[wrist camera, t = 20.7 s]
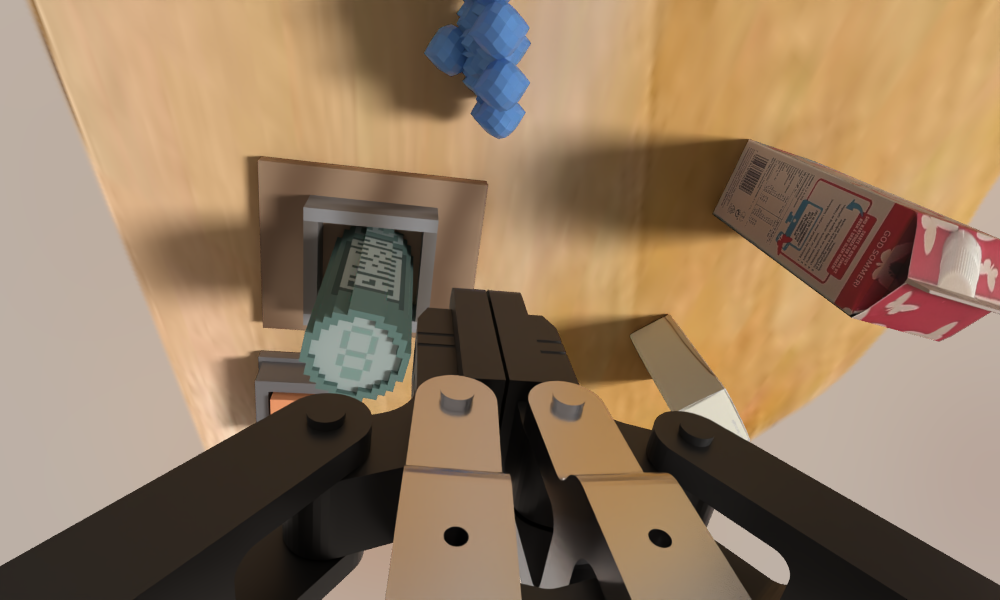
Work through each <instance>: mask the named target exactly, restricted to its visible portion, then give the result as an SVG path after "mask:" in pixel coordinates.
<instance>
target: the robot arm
mask: <svg viewBox="0 0 1000 600" xmlns="http://www.w3.org/2000/svg"><path fill="white" fill-rule="evenodd" d="M714 509H715V510H717V511H718V512H720V513H721V514H723V515H724V516H726V517H727V518H729V519H730V520H732V521H734V522H735V523H736V524H738V525H740V526H741V527H743V528H744V529H745V530H747V531H748V532H750V533H751V534H753V535H754V536H756V537H757V538H759V539H760V540H762V541H763V542H765V543H767V544H768V545H769V546H771V547H772V548H774V549H775V550H776V551H778V552H779V553H780V554H781V556H782V557H783V558H784V559H785V561H786V562H787V565H788V567H789V570H790V580H789V582H788V584H787V585H784V584H779V583H777V582H774V581H772V580H771V579H770V578H768V577H767V576H765V575H764V574H762V573H761V572H759V571H758V570H757V569H755V568H754V567H753V566H751V565H750V564H748V563H747V562H745V561H744V560H743V559H741V558H740V557H738V556H737V555H735V554H734V553H732V552H731V551H730V550H728V549H727V548H725V547H724V546H723V545H721V544H720V543H718V542H717V541H715V540H714V539H713V537H712V536H711V534H710V533H709V531H708V529H707V525H708V523H709V520H710V518H711V515H712V513H713V510H714ZM390 543H393V547H392V554H391V561H390V568H389V575H388V582H387V589H386V596H385V600H1000V585H998V584H997V583H995V582H993V581H991V580H990V579H988V578H986V577H984V576H983V575H981V574H979V573H977V572H976V571H974V570H972V569H970V568H969V567H967V566H965V565H964V564H962V563H960V562H958V561H956V560H954V559H953V558H951V557H950V556H948V555H946V554H944V553H943V552H941V551H939V550H937V549H935V548H933V547H932V546H930V545H929V544H927V543H925V542H923V541H922V540H920V539H918V538H916V537H914V536H913V535H911V534H909V533H908V532H906V531H904V530H902V529H900V528H899V527H897V526H895V525H894V524H892V523H890V522H888V521H887V520H885V519H883V518H881V517H880V516H878V515H876V514H874V513H873V512H871V511H869V510H867V509H865V508H864V507H862V506H860V505H859V504H857V503H855V502H853V501H852V500H850V499H848V498H846V497H845V496H843V495H841V494H839V493H838V492H836V491H834V490H832V489H831V488H829V487H827V486H825V485H824V484H822V483H820V482H818V481H817V480H815V479H813V478H811V477H810V476H808V475H806V474H804V473H803V472H801V471H799V470H797V469H796V468H794V467H792V466H790V465H789V464H787V463H785V462H783V461H782V460H780V459H778V458H777V457H775V456H773V455H771V454H769V453H768V452H766V451H764V450H762V449H761V448H759V447H757V446H755V445H754V444H752V443H750V442H749V441H747V440H745V439H743V438H742V437H740V436H738V435H736V434H735V433H733V432H731V431H729V430H728V429H726V428H724V427H722V426H721V425H719V424H717V423H715V422H714V421H712V420H710V419H708V418H705V417H703V416H701V415H697V414H694V413H690V412H684V411H670V412H665V413H663V414H661V415H659V416H658V417H657V418H656V420H655V422H654V425H653V428H652V430H649V429H645V428H641V427H637V426H633V425H629V424H625V423H622V422H619V421H616V420H614V419H613V418H612V416H611V414H610V413H609V411H608V409H607V407H606V405H605V404H604V402H603V401H602V399H601V398H600V397H599V396H598V395H596V394H595V393H594V392H592V391H590V390H589V389H587V388H585V387H583V386H580V385H579V383H578V381H577V378H576V376H575V373H574V371H573V368H572V366H571V363H570V361H569V359H568V356H567V355H566V351H565V349H564V346H563V344H561V339H560V337H559V334H558V332H557V329H556V328H555V327H554V326H553V325H552V324H551V323H550V322H549V321H547V320H546V319H545V318H544V317H543V316H538V315H528V313H527V310H526V307H525V304H524V301H523V298H522V295H521V293H517V292H505V291H492V290H487V292H486V290H478V289H466V288H452V291H451V296H450V304H449V309H442V308H428V307H427V308H426V310H425V311H424V312H423V313H422V314H421V315H420V316H419V317H418V319H417V329H416V340H415V350H414V360H413V371H412V395H411V400H410V401H409V402H408V403H406V404H405V405H403V406H402V407H399V408H397V409H395V410H392V411H389V412H385V413H380V414H374V415H372V414H371V412H370V410H369V409H368V407H367V406H366V405H365V404H364V403H362V402H361V401H359V400H357V399H355V398H353V397H350V396H347V395H342V394H336V393H321V394H314V395H309V396H306V397H303V398H300V399H298V400H296V401H294V402H292V403H290V404H288V405H287V406H285V407H283V408H281V409H280V410H278V411H276V412H274V413H272V414H271V415H269V416H267V417H265V418H264V419H262V420H260V421H258V422H256V423H255V424H253V425H251V426H249V427H247V428H246V429H244V430H242V431H240V432H239V433H237V434H235V435H233V436H231V437H230V438H228V439H226V440H224V441H223V442H221V443H219V444H217V445H215V446H214V447H212V448H210V449H208V450H206V451H205V452H203V453H201V454H199V455H198V456H196V457H194V458H192V459H190V460H189V461H187V462H185V463H183V464H182V465H180V466H178V467H176V468H174V469H173V470H171V471H169V472H168V473H166V474H164V475H162V476H160V477H158V478H157V479H155V480H153V481H151V482H150V483H148V484H146V485H144V486H142V487H141V488H139V489H137V490H135V491H133V492H132V493H130V494H128V495H126V496H124V497H123V498H121V499H119V500H117V501H116V502H114V503H112V504H110V505H109V506H107V507H105V508H103V509H102V510H100V511H98V512H96V513H94V514H92V515H91V516H89V517H87V518H85V519H84V520H82V521H80V522H78V523H76V524H75V525H73V526H71V527H69V528H67V529H66V530H64V531H62V532H60V533H59V534H57V535H55V536H53V537H51V538H50V539H48V540H46V541H44V542H43V543H41V544H39V545H37V546H36V547H34V548H32V549H30V550H28V551H26V552H25V553H23V554H21V555H19V556H18V557H16V558H14V559H12V560H10V561H9V562H7V563H5V564H3V565H2V566H0V600H322V598H324V597H325V595H327V594H328V593H329V592H330V591H331V590H332V589H333V588H334V587H335V586H336V585H338V584H339V583H340V582H341V581H342V580H343V579H344V578H345V577H346V576H347V575H348V574H349V573H350V572H351V571H352V570H353V569H354V568H355V567H356V566H357V565H358V564H359V562H360V560H361V558H362V556H363V552H364V550H368V549H372V548H375V547H378V546H382V545H386V544H390ZM520 579H521V583H520Z"/></svg>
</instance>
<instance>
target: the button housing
mask: <svg viewBox="0 0 1000 600" xmlns="http://www.w3.org/2000/svg"><path fill="white" fill-rule="evenodd" d="M299 358H300V353H293V352H276V351H261V352H260V354H259V356H258V361H259V372H258V375H257V377H256V379H255V397H256V422H258V421H260V420H262V419H264V418H265V417H267V416H269V415H271V409H270V399H271V396H272V393H273V392H285V393H306V394H321V393H328V392H329V391H326V390H321V389H316V388H315V386H316V383H315V382H309V380H310V376H309V375H304V369H305V365H306V363H303V362H299Z"/></svg>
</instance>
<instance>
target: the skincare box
mask: <svg viewBox="0 0 1000 600" xmlns="http://www.w3.org/2000/svg"><path fill="white" fill-rule="evenodd" d="M630 338H631V340H632V342H633V344H634V346H635V348H636V350H637V352H638V354H639V356H640V357H641V359H642V361H643V363H644V365H645V367H646V368H647V370H648V372H649V374H650V375H651V377H652V379H653V381H654V382H655V384H656V386H657V388H658V389H659V391H660V393H661V394H662V396H663V398H664V400H665V401H666V403H667V405H668V407H669V408H670V410H671V411H684V412H690V413H694V414H697V415H701V416H703V417H705V418H708V419H710V420H712V421H714V422H715V423H717V424H719V425H721V426H722V427H724V428H726V429H728V430H729V431H731V432H733V433H735V434H736V435H738V436H740V437H742V438H743V439H745V440H747V441H750V438H749V436H748V433H747V431H746V429H745V426H744V424H743V422H742V420H741V418H740V416H739V414H738V412H737V410H736V408H735V406H734V404H733V402H732V400H731V398H730V396H729V394H728V392H727V391H726V389H725V388H724V386H723V385H722V384H721V382H720V381H719V380H718V378H717V377H716V376H715V374H714V373H713V371H712V370H711V369H710V367H709V366H708V365H707V363H706V362H705V361H704V359H703V358H702V357H701V355H700V354H699V353H698V351H697V350H696V348H695V347H694V346H693V344H692V343H691V342H690V340H689V339H688V338H687V336H686V335H685V334H684V332H683V331H682V330H681V328H680V327H679V326H678V324H677V323H676V322H675V320H674V319H673V318H672V317H671V315H667V316H665V317H663V318H661V319H659V320H657V321H655V322H653V323H651V324H649V325H647V326H645V327H643V328H642V329H640V330H638V331H636V332H634V333H632V334H631V335H630Z"/></svg>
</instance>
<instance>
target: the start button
mask: <svg viewBox="0 0 1000 600" xmlns="http://www.w3.org/2000/svg"><path fill="white" fill-rule="evenodd" d="M309 395H314V394H306V393H285V392H273V393H272V396H271V399H270V409H271V414H272V413H274V412H276V411H278V410H280V409H281V408H283V407H285V406H287V405H288V404H290V403H292V402H294V401H296V400H298V399H300V398H303V397H306V396H309Z"/></svg>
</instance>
